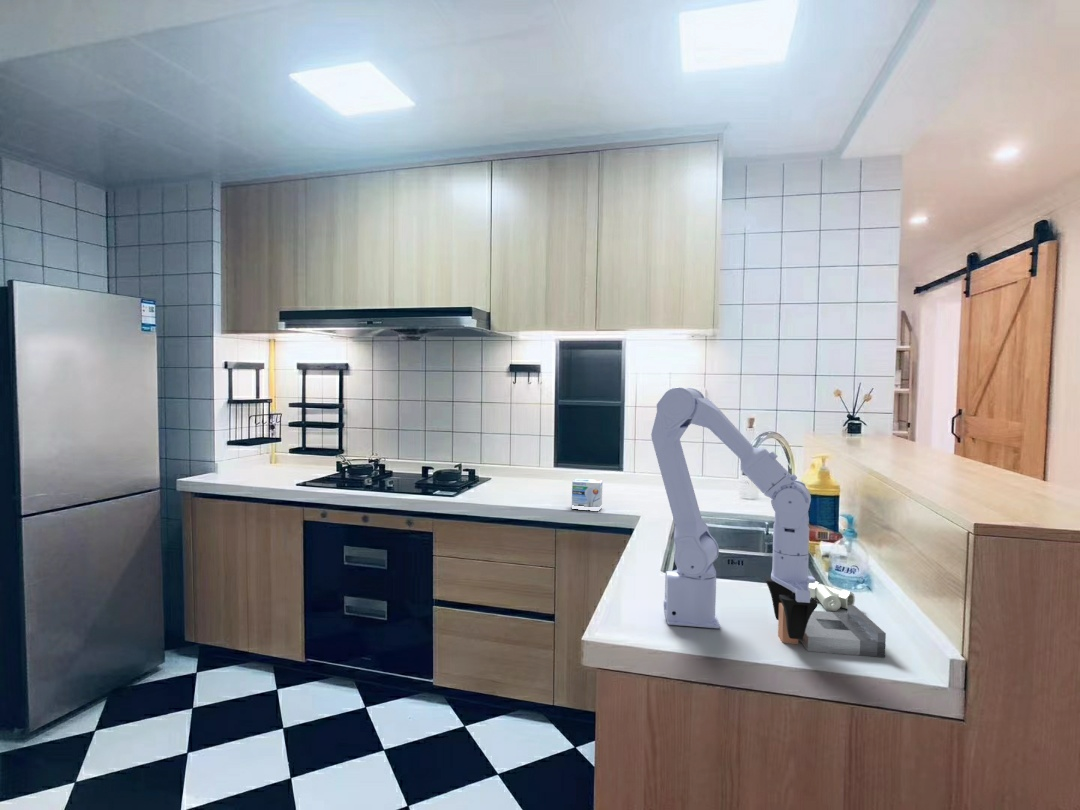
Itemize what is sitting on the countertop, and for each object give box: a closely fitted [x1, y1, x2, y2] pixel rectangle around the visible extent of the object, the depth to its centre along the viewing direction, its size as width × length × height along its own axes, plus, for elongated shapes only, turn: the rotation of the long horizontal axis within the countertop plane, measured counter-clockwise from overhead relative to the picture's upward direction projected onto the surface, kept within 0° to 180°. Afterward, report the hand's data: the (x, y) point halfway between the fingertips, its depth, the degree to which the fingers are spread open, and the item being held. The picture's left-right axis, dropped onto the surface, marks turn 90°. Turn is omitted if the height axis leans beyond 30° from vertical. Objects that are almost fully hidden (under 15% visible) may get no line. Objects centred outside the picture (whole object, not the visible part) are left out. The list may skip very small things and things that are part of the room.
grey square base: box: [798, 605, 887, 658], centre depth 97 cm, size 12×12×4 cm
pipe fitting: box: [809, 580, 856, 612], centre depth 113 cm, size 8×4×7 cm
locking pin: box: [777, 603, 799, 645], centre depth 96 cm, size 3×3×6 cm
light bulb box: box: [571, 478, 603, 507], centre depth 203 cm, size 11×7×11 cm, turn 77°
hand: (788, 628), depth 96 cm, fingers open, 7 cm apart
